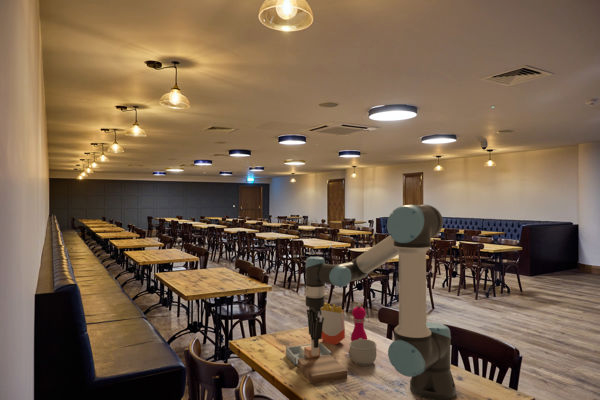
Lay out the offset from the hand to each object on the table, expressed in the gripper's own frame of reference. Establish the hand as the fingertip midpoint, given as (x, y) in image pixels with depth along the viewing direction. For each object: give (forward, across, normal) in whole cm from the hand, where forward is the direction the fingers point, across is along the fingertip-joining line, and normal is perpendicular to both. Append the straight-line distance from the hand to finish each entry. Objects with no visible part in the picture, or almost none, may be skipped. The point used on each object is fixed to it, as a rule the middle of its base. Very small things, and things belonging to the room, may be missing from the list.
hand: (314, 354), depth 161 cm
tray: (+4, -7, 0) cm, 9 cm away
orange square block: (+1, -3, 0) cm, 3 cm away
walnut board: (+4, +7, 0) cm, 8 cm away
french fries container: (+4, -21, +17) cm, 27 cm away
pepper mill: (+4, -10, +25) cm, 27 cm away
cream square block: (+3, -8, 0) cm, 9 cm away
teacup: (+5, +3, +20) cm, 21 cm away
